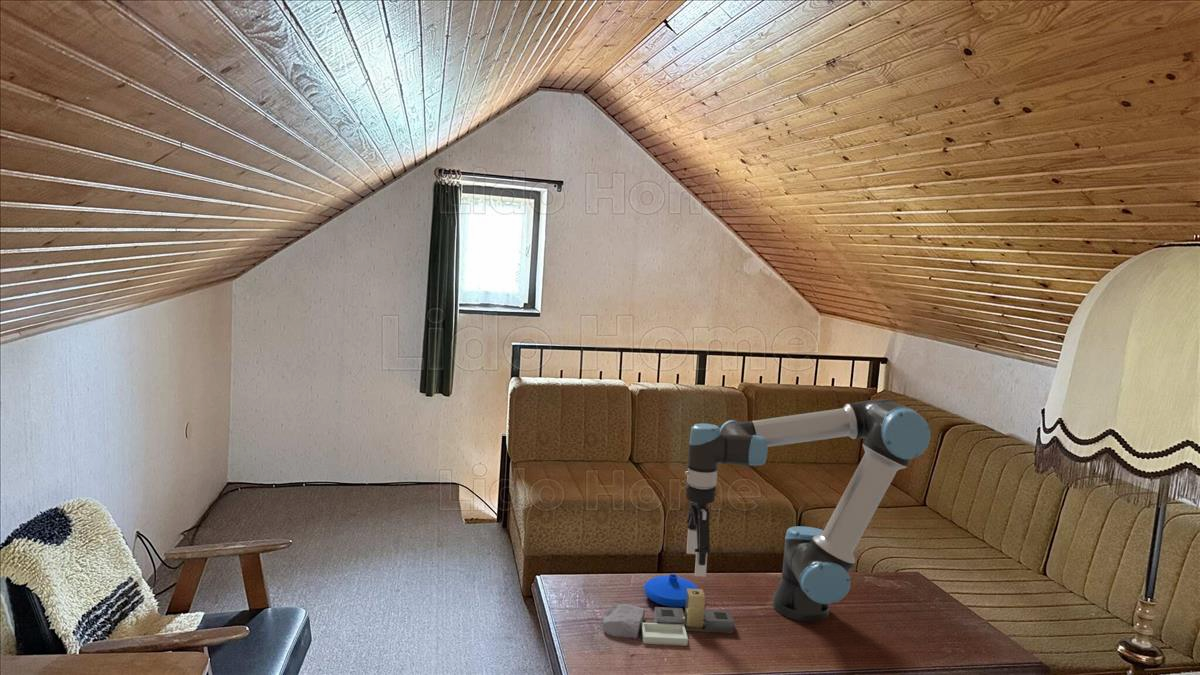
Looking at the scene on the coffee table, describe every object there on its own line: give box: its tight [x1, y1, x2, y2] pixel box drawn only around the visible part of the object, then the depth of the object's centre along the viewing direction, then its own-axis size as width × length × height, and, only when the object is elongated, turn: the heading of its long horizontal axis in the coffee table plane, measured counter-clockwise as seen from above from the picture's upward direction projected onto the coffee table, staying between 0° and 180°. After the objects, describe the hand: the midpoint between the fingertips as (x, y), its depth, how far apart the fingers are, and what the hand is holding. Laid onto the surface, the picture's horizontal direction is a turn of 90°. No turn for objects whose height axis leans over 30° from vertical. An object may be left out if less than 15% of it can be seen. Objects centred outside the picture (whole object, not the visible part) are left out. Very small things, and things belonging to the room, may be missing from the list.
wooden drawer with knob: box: [684, 588, 706, 630], centre depth 188 cm, size 4×4×9 cm
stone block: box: [602, 603, 646, 639], centre depth 186 cm, size 12×5×10 cm
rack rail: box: [653, 606, 735, 634], centre depth 189 cm, size 20×6×3 cm, turn 92°
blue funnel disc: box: [643, 573, 699, 608], centre depth 202 cm, size 16×16×7 cm
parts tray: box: [640, 621, 689, 647], centre depth 182 cm, size 11×7×2 cm, turn 92°
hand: (695, 564), depth 187 cm, fingers open, 13 cm apart
